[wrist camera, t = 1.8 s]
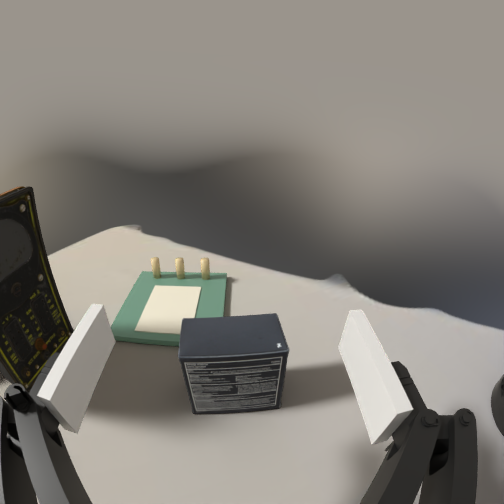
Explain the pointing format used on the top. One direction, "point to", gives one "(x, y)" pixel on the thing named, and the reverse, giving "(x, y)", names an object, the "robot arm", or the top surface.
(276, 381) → the small box
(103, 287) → the top surface
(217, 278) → the green header board
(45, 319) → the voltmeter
